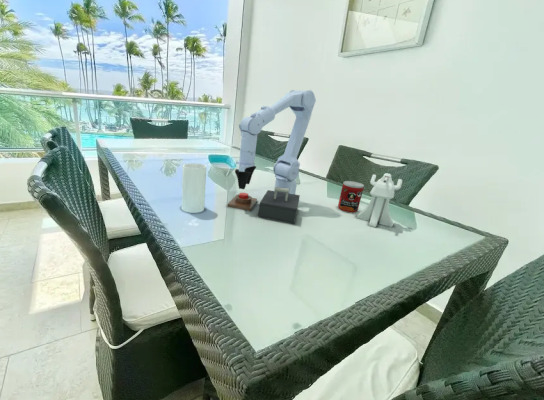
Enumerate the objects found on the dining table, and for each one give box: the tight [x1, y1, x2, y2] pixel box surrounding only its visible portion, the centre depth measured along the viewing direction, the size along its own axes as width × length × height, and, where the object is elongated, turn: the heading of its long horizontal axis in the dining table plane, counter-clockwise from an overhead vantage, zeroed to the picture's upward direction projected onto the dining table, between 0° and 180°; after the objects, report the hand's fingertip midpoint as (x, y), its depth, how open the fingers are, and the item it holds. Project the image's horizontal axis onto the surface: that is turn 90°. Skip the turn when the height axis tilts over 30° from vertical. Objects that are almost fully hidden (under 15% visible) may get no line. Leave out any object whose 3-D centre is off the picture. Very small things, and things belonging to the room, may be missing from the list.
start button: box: [238, 192, 249, 199], centre depth 107 cm, size 4×4×2 cm
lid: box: [259, 186, 301, 212], centre depth 100 cm, size 16×13×5 cm
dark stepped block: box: [257, 202, 300, 225], centre depth 101 cm, size 16×13×5 cm
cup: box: [181, 162, 207, 214], centre depth 97 cm, size 8×8×16 cm
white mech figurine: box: [356, 172, 403, 228], centre depth 98 cm, size 12×13×18 cm
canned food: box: [337, 180, 365, 214], centre depth 110 cm, size 8×8×11 cm
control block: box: [227, 193, 258, 212], centre depth 108 cm, size 12×9×3 cm
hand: (244, 186), depth 105 cm, fingers open, 7 cm apart
